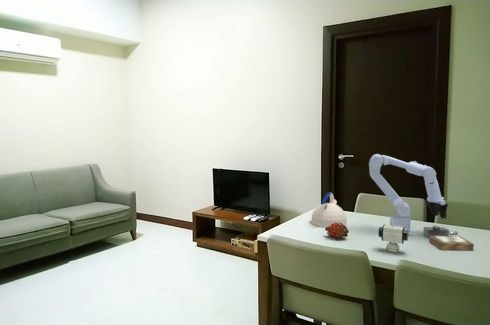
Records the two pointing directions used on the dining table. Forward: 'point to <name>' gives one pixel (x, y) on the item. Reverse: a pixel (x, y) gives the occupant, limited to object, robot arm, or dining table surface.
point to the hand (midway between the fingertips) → (439, 216)
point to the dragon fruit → (337, 230)
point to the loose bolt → (453, 232)
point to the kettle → (328, 213)
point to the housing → (435, 231)
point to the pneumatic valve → (393, 236)
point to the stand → (451, 243)
